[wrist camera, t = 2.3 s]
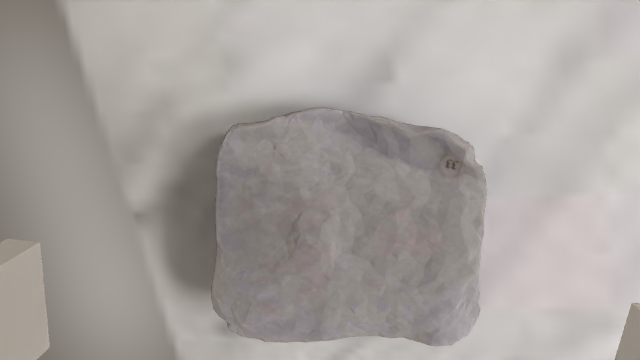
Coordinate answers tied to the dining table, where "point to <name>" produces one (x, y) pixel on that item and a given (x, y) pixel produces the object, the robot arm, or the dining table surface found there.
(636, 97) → the dining table surface
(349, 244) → the stone block
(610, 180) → the dining table surface
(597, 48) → the dining table surface
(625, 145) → the dining table surface
